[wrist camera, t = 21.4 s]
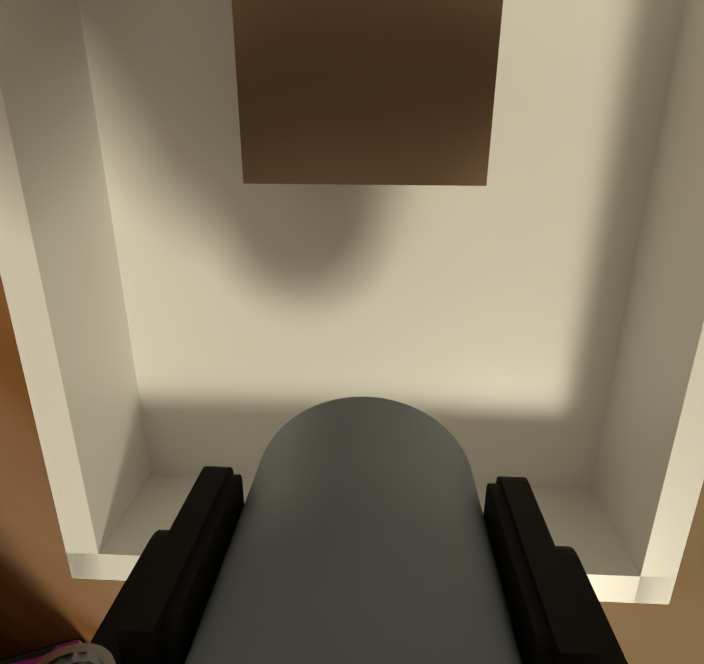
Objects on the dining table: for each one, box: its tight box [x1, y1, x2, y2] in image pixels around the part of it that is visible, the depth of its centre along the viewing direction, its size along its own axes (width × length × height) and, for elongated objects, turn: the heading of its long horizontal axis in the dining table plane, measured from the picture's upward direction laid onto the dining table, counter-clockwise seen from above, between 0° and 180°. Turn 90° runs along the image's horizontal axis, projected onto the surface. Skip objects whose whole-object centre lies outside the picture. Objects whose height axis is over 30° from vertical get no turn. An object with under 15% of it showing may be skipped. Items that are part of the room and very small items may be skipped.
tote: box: [0, 0, 704, 604], centre depth 15 cm, size 20×18×5 cm
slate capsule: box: [184, 397, 522, 664], centre depth 9 cm, size 5×5×7 cm
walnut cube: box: [232, 0, 503, 186], centre depth 13 cm, size 5×5×5 cm
